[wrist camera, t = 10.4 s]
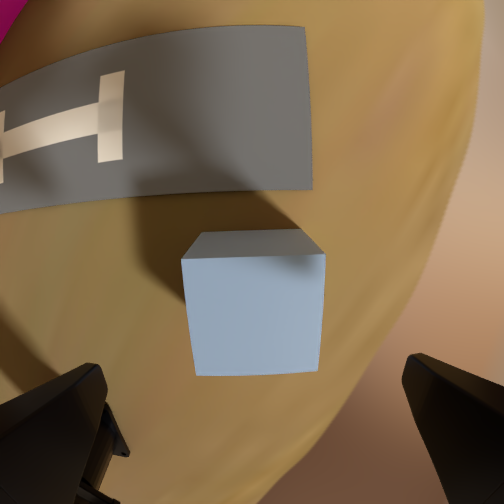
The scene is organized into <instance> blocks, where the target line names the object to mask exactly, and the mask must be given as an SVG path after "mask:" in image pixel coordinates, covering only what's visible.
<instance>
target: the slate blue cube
mask: <svg viewBox="0 0 504 504" xmlns="http://www.w3.org/2000/svg"><path fill="white" fill-rule="evenodd" d="M325 260H326V254H325V253H324V252H323V251H322V250H321V249H320V248H319V247H318V246H317V245H316V244H315V242H314V241H313V240H312V239H311V238H310V237H309V236H308V235H307V234H306V233H305V232H304V231H303V230H302V229H275V230H244V231H217V232H201V234H200V235H199V236H198V238H197V239H196V240H195V241H194V243H193V244H192V245H191V247H190V248H189V249H188V251H187V252H186V253H185V255H184V256H183V257H182V258H181V264H182V274H183V283H184V292H185V300H186V308H187V316H188V324H189V331H190V338H191V345H192V351H193V358H194V364H195V370H196V375H199V376H240V375H268V374H285V373H299V372H310V371H318V362H319V352H320V341H321V329H322V316H323V301H324V283H325Z"/></svg>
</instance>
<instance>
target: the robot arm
mask: <svg viewBox="0 0 504 504" xmlns="http://www.w3.org/2000/svg"><path fill="white" fill-rule="evenodd" d="M402 385H403V388H404V391H405V393H406V397H407V399H408V402H409V405H410V408H411V412H412V415H413V417H414V420H415V423H416V425H417V428H418V430H419V432H420V434H421V437H422V439H423V441H424V443H425V445H426V448H427V450H428V452H429V455H430V457H431V460H432V462H433V464H434V467H435V469H436V472H437V474H438V476H439V479H440V482H441V484H442V487H443V489H444V492H445V495H446V497H447V500H448V502H449V504H504V386H501V385H499V384H496V383H494V382H491V381H489V380H486V379H484V378H481V377H479V376H476V375H474V374H471V373H469V372H466V371H464V370H461V369H459V368H456V367H454V366H452V365H449V364H447V363H444V362H442V361H440V360H437V359H435V358H432V357H430V356H428V355H425V354H422V353H417V354H412V355H409V356H408V358H407V361H406V364H405V368H404V371H403V375H402ZM107 392H108V388H107V384H106V381H105V378H104V375H103V372H102V369H101V367H100V365H98V364H94V363H85V364H83V365H81V366H79V367H77V368H75V369H73V370H71V371H69V372H67V373H65V374H63V375H61V376H59V377H57V378H55V379H53V380H51V381H49V382H47V383H45V384H43V385H41V386H38V387H36V388H34V389H32V390H30V391H28V392H26V393H24V394H22V395H20V396H18V397H16V398H14V399H11V400H9V401H7V402H5V403H3V404H1V405H0V504H120V502H119V501H117V500H116V499H112V498H110V497H108V496H106V495H105V494H103V493H101V492H99V491H98V490H99V488H100V485H101V483H102V480H103V478H104V475H105V472H106V470H107V467H108V465H109V462H110V460H111V458H112V455H117V456H122V457H129V455H130V451H129V449H128V447H127V445H126V442H125V440H124V438H123V436H122V434H121V432H120V430H119V427H118V425H117V423H116V421H115V418H114V416H113V414H112V411H111V409H110V407H109V406H108V405H106V404H105V400H106V396H107Z"/></svg>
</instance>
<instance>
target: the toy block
mask: <svg viewBox="0 0 504 504" xmlns="http://www.w3.org/2000/svg"><path fill="white" fill-rule="evenodd" d="M27 1H28V0H0V44H1V42H2V40H3V39H4V37H5V35H6V33H7V32H8V30H9V28H10V27H11V25H12V23H13V22H14V20H15V19H16V17H17V16H18V14H19V13H20V11H21V10H22V8H23V7H24V5H25V4H26V2H27Z"/></svg>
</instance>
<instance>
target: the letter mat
mask: <svg viewBox="0 0 504 504" xmlns="http://www.w3.org/2000/svg"><path fill="white" fill-rule="evenodd" d="M246 190H312V135H311V109H310V90H309V74H308V60H307V48H306V36H305V27H295V26H272V25H244V26H221V27H208V28H197V29H188V30H181V31H174V32H167V33H161V34H155V35H150V36H145V37H140V38H135V39H131V40H126V41H122V42H118V43H114V44H111V45H107V46H103V47H100V48H96V49H93V50H90V51H87V52H83V53H80V54H77V55H74V56H72V57H69V58H66V59H63V60H61V61H58V62H55V63H53V64H50V65H48V66H45V67H43V68H41V69H38V70H36V71H34V72H31V73H29V74H27V75H25V76H23V77H21V78H18V79H16V80H14V81H12V82H10V83H8V84H7V85H5V86H3V87H1V88H0V214H2V213H8V212H14V211H20V210H26V209H33V208H40V207H47V206H54V205H62V204H69V203H77V202H86V201H95V200H104V199H114V198H125V197H136V196H149V195H162V194H177V193H195V192H216V191H246Z"/></svg>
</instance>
